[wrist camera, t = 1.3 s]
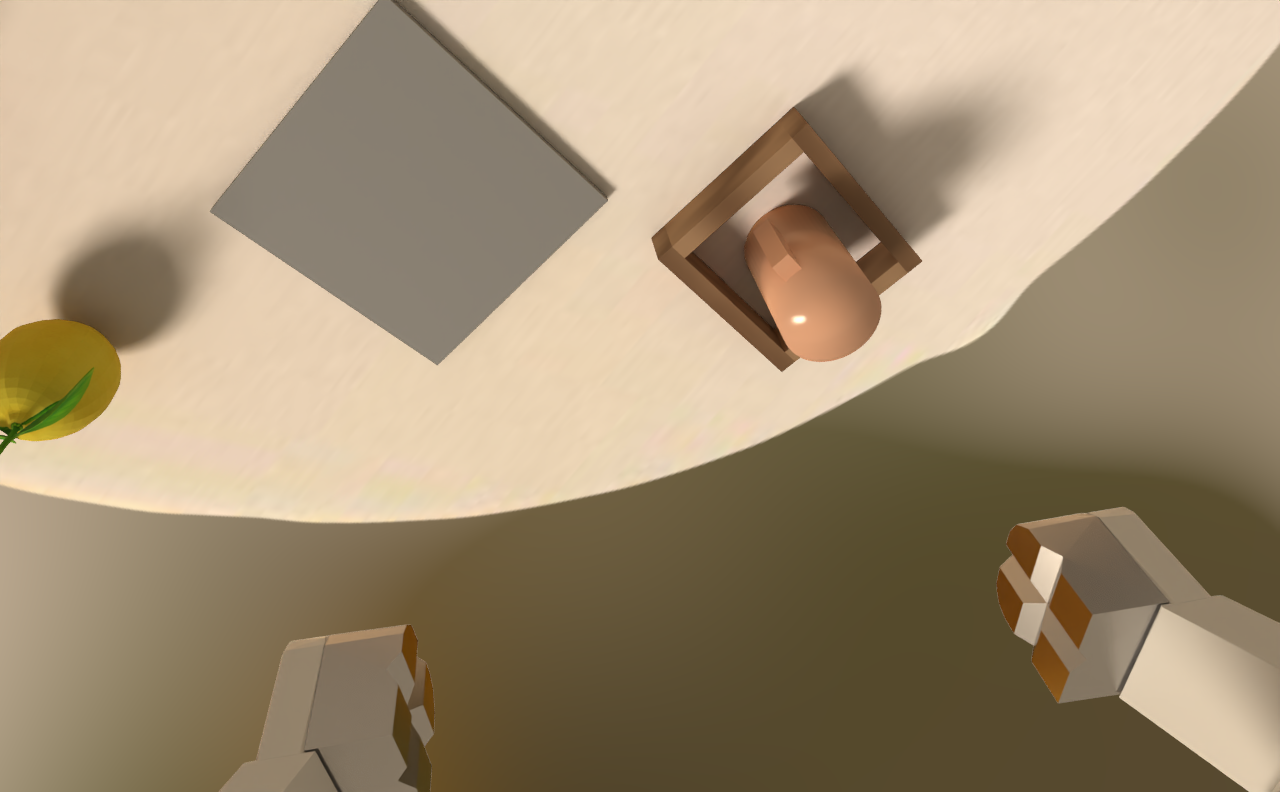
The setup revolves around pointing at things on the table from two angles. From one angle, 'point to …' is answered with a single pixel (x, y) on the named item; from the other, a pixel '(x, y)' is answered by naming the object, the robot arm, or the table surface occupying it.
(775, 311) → the capsule with tab
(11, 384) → the lemon
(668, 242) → the brown wooden frame
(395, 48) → the mat
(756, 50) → the table surface
